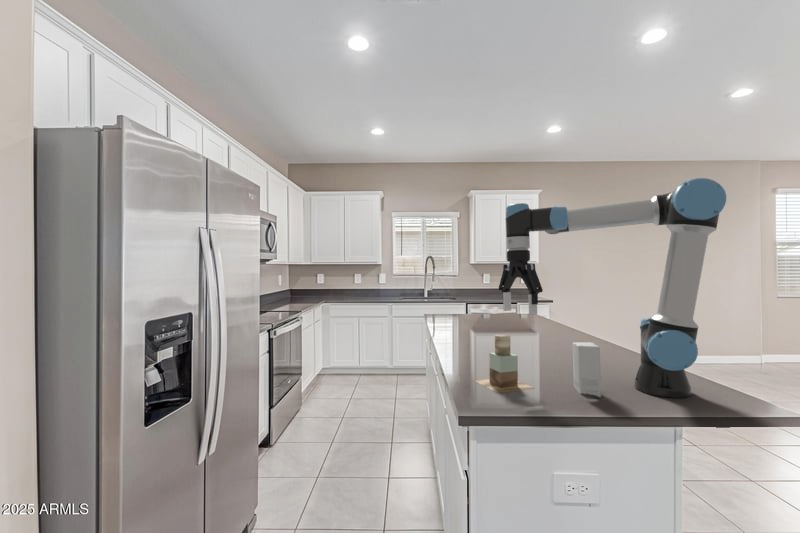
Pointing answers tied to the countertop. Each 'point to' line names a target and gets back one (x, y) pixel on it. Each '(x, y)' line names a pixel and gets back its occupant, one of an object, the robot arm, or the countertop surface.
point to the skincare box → (586, 368)
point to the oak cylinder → (502, 345)
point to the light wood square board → (499, 390)
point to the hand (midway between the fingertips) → (519, 312)
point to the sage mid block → (504, 362)
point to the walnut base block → (503, 378)
